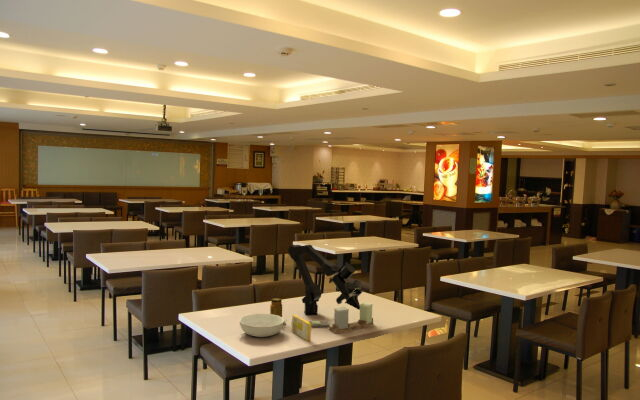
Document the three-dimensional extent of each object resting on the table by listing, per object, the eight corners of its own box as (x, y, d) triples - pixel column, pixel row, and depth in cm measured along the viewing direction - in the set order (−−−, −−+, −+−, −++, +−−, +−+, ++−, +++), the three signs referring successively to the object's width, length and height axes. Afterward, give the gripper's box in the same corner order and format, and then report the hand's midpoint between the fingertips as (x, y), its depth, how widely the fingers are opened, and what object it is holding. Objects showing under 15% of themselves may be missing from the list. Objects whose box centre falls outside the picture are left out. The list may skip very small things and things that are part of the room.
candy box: (311, 341, 221) (311, 323, 221) (307, 341, 220) (307, 323, 220) (295, 330, 235) (295, 313, 235) (291, 331, 234) (291, 314, 234)
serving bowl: (250, 344, 215) (250, 329, 215) (232, 331, 233) (232, 316, 233) (291, 336, 226) (292, 322, 226) (271, 324, 244) (271, 311, 244)
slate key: (333, 327, 236) (334, 308, 236) (343, 325, 239) (344, 307, 238) (338, 329, 232) (338, 310, 232) (348, 327, 235) (348, 309, 235)
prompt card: (309, 327, 240) (310, 324, 240) (307, 323, 247) (307, 320, 247) (329, 327, 242) (329, 323, 242) (327, 322, 249) (327, 319, 249)
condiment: (270, 320, 251) (270, 297, 251) (286, 320, 251) (287, 297, 251) (268, 324, 244) (269, 300, 244) (285, 324, 244) (285, 301, 244)
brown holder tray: (338, 334, 230) (338, 327, 230) (327, 329, 237) (327, 322, 237) (376, 325, 245) (376, 318, 245) (364, 321, 252) (365, 314, 252)
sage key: (359, 322, 244) (359, 304, 243) (364, 320, 248) (365, 302, 248) (366, 324, 241) (367, 306, 241) (372, 321, 246) (372, 303, 246)
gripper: (341, 278, 241) (360, 303, 236) (360, 272, 257) (378, 296, 251) (328, 291, 246) (346, 316, 240) (347, 285, 262) (365, 308, 256)
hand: (359, 309), depth 247 cm, fingers closed
